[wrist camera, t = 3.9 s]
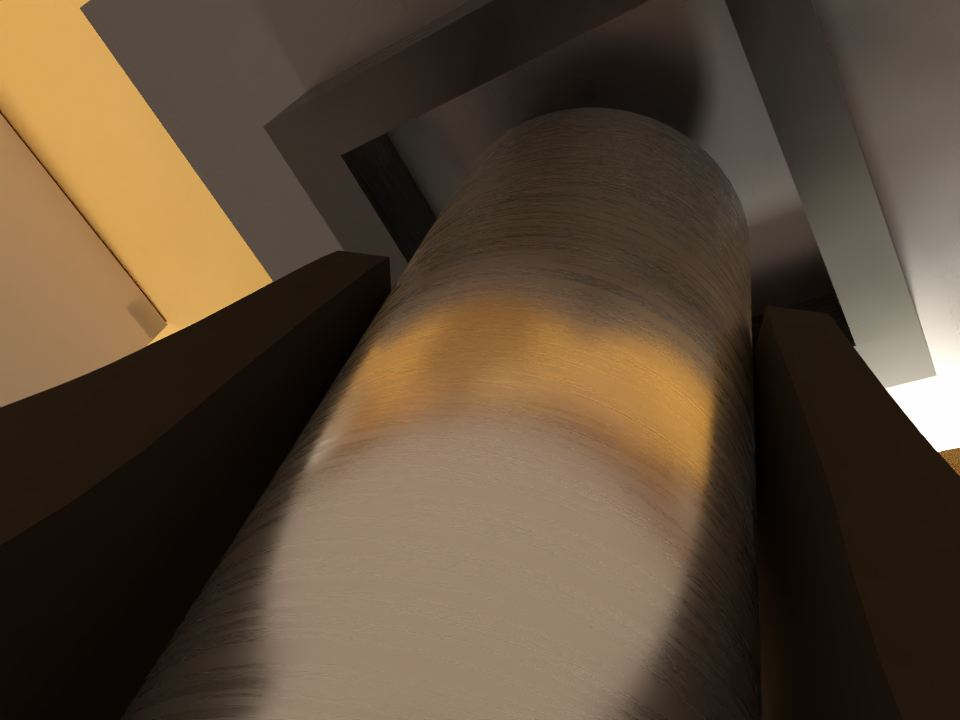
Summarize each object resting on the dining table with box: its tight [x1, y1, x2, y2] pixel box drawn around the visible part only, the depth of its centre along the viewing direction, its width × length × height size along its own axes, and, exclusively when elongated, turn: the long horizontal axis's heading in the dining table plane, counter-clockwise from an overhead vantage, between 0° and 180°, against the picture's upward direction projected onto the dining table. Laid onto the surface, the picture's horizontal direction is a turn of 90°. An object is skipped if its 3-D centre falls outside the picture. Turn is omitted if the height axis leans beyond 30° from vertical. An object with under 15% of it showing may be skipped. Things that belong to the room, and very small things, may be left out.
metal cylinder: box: [120, 107, 762, 720], centre depth 8 cm, size 4×4×9 cm
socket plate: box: [80, 0, 960, 452], centre depth 13 cm, size 12×12×2 cm
